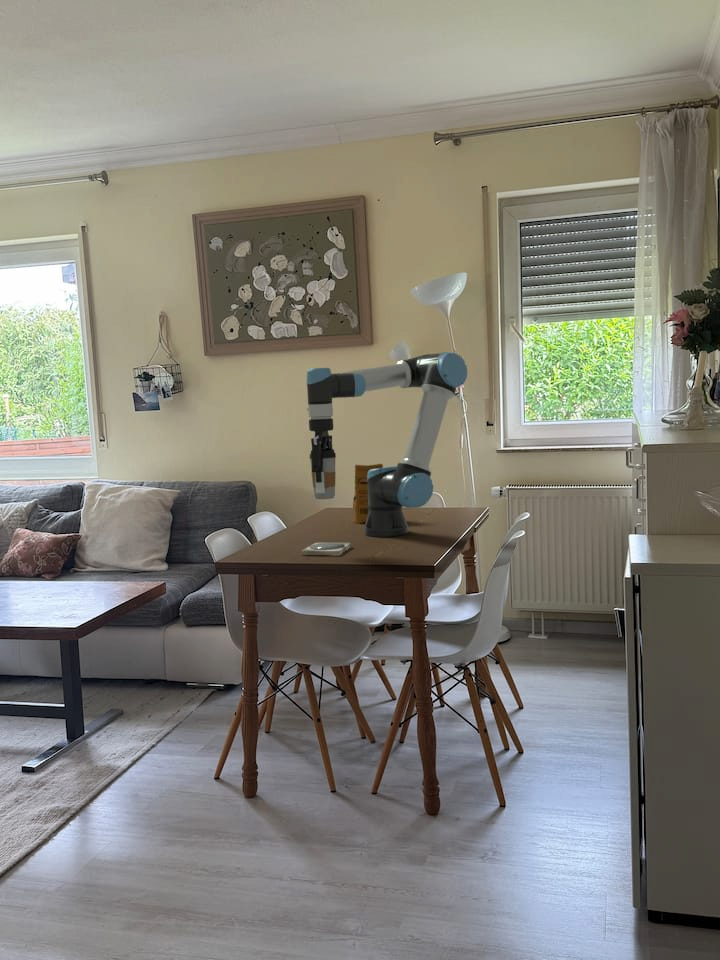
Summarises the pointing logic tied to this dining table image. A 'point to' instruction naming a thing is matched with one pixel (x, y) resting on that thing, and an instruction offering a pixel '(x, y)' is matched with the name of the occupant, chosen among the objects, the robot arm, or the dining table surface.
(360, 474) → the coffee package
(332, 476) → the coffee cup
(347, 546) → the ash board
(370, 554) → the dining table surface
